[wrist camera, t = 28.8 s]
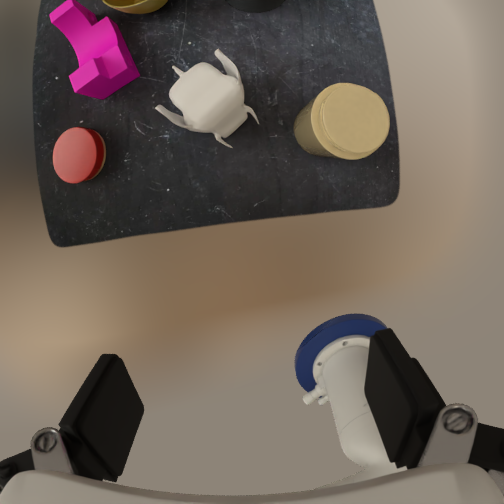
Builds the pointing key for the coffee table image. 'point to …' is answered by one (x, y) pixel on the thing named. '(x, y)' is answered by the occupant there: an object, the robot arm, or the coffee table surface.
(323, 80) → the coffee table surface
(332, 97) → the jar
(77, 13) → the toy block
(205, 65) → the elephant figurine
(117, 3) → the yellow bowl
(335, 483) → the robot arm
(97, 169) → the lid
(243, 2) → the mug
